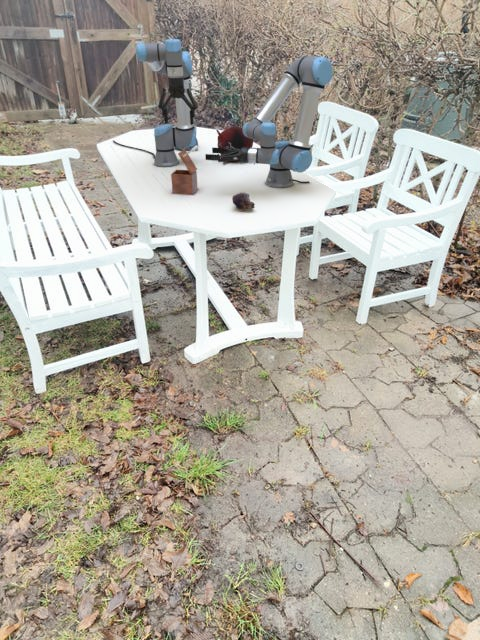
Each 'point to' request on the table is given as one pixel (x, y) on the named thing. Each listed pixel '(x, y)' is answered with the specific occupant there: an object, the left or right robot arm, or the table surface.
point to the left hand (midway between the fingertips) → (179, 123)
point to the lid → (188, 159)
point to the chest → (184, 182)
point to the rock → (242, 201)
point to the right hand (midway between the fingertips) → (209, 153)
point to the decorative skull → (233, 139)
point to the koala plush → (188, 147)
